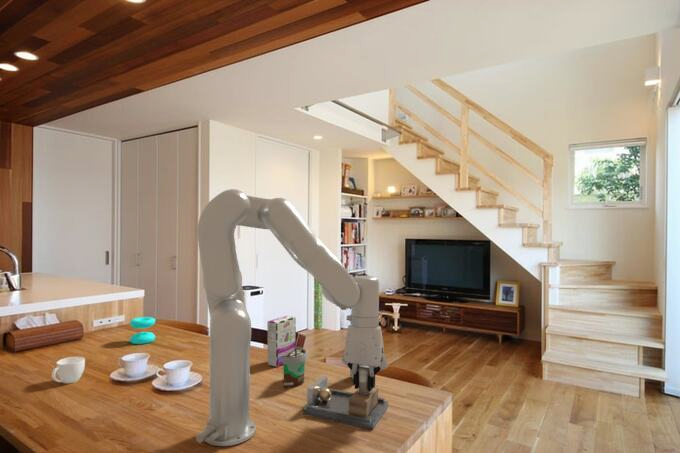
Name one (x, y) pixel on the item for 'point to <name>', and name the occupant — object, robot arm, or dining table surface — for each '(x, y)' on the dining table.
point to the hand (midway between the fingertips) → (364, 387)
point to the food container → (294, 367)
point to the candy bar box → (281, 339)
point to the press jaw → (363, 395)
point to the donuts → (142, 336)
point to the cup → (69, 369)
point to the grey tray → (339, 406)
